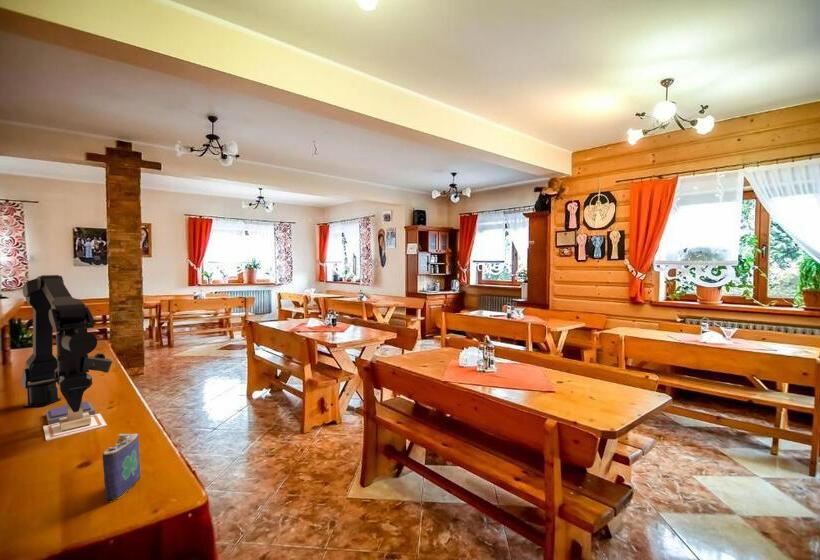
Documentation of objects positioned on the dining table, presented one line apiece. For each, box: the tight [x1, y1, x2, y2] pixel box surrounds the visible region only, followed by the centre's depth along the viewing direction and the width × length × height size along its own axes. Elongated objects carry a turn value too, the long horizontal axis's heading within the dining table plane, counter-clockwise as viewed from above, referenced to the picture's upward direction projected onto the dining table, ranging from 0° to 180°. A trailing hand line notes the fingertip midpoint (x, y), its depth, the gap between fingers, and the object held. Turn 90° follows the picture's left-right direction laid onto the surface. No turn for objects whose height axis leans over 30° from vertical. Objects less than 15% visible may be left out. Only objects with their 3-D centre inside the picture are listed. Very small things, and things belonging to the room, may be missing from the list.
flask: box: [101, 433, 142, 503], centre depth 75 cm, size 9×3×11 cm, turn 8°
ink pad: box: [45, 401, 96, 425], centre depth 113 cm, size 10×10×2 cm
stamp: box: [59, 399, 91, 432], centre depth 104 cm, size 6×6×8 cm
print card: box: [42, 413, 108, 442], centre depth 104 cm, size 12×12×1 cm
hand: (74, 407), depth 104 cm, fingers open, 9 cm apart
